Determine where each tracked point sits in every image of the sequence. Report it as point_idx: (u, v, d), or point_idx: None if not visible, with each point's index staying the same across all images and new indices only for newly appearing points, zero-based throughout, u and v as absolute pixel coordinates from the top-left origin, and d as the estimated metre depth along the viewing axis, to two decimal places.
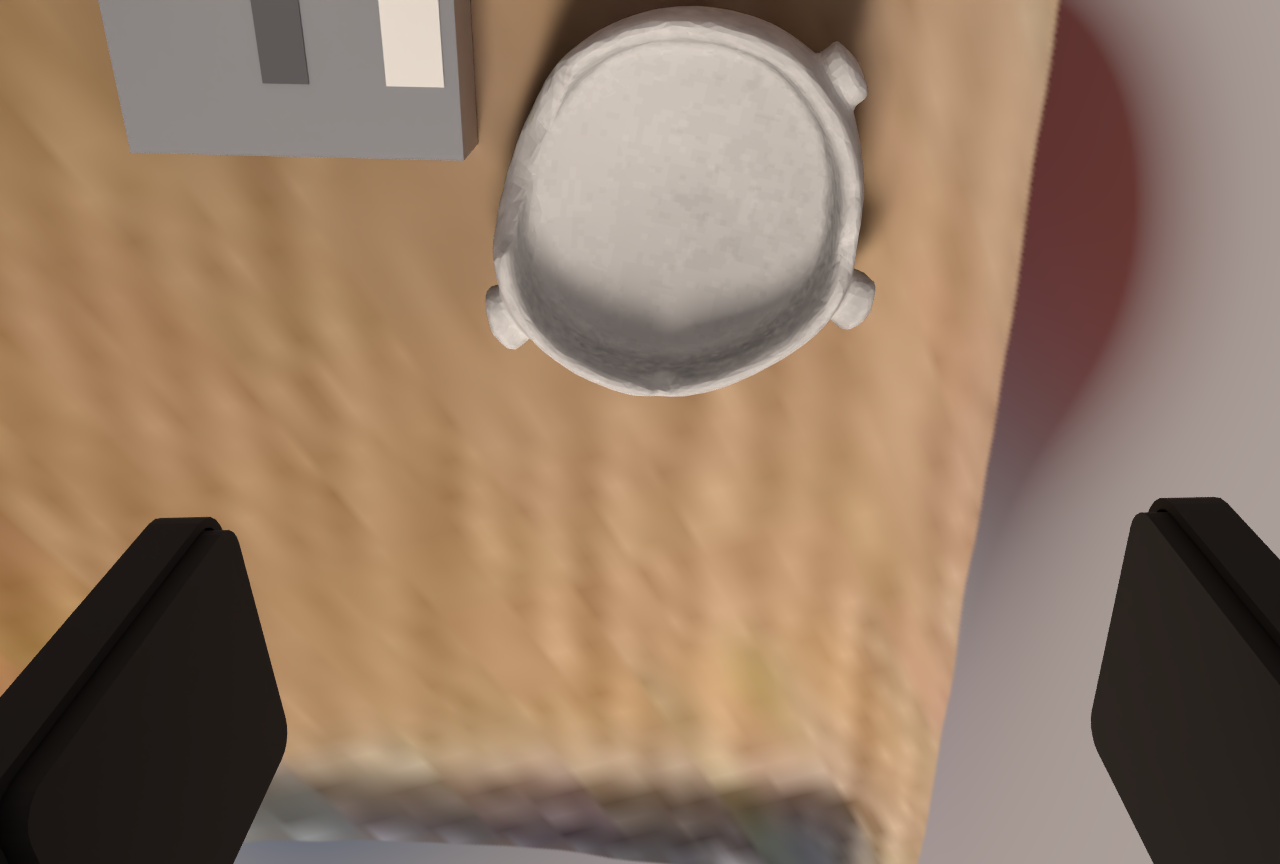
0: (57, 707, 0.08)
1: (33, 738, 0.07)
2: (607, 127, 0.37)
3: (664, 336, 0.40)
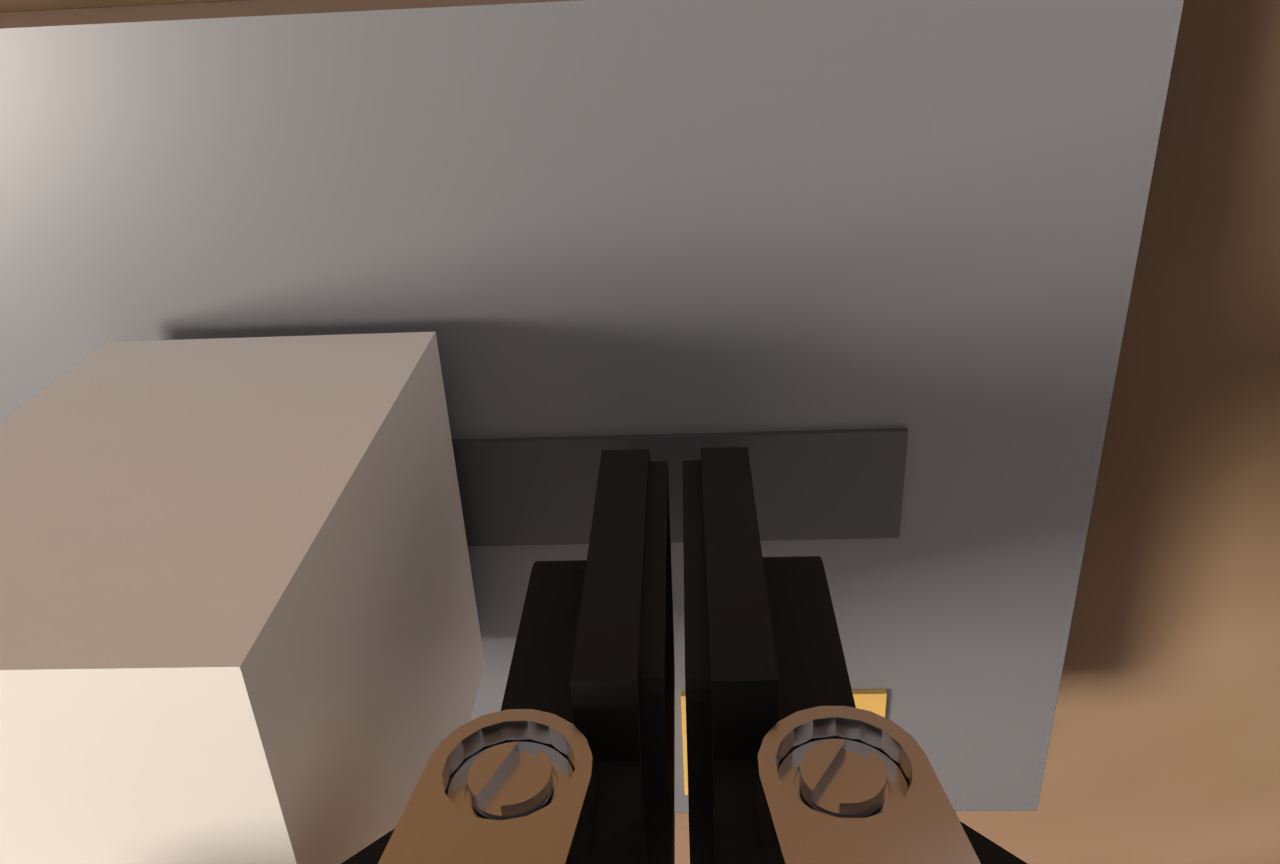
0: (638, 599, 0.09)
1: (638, 622, 0.08)
2: None
3: None
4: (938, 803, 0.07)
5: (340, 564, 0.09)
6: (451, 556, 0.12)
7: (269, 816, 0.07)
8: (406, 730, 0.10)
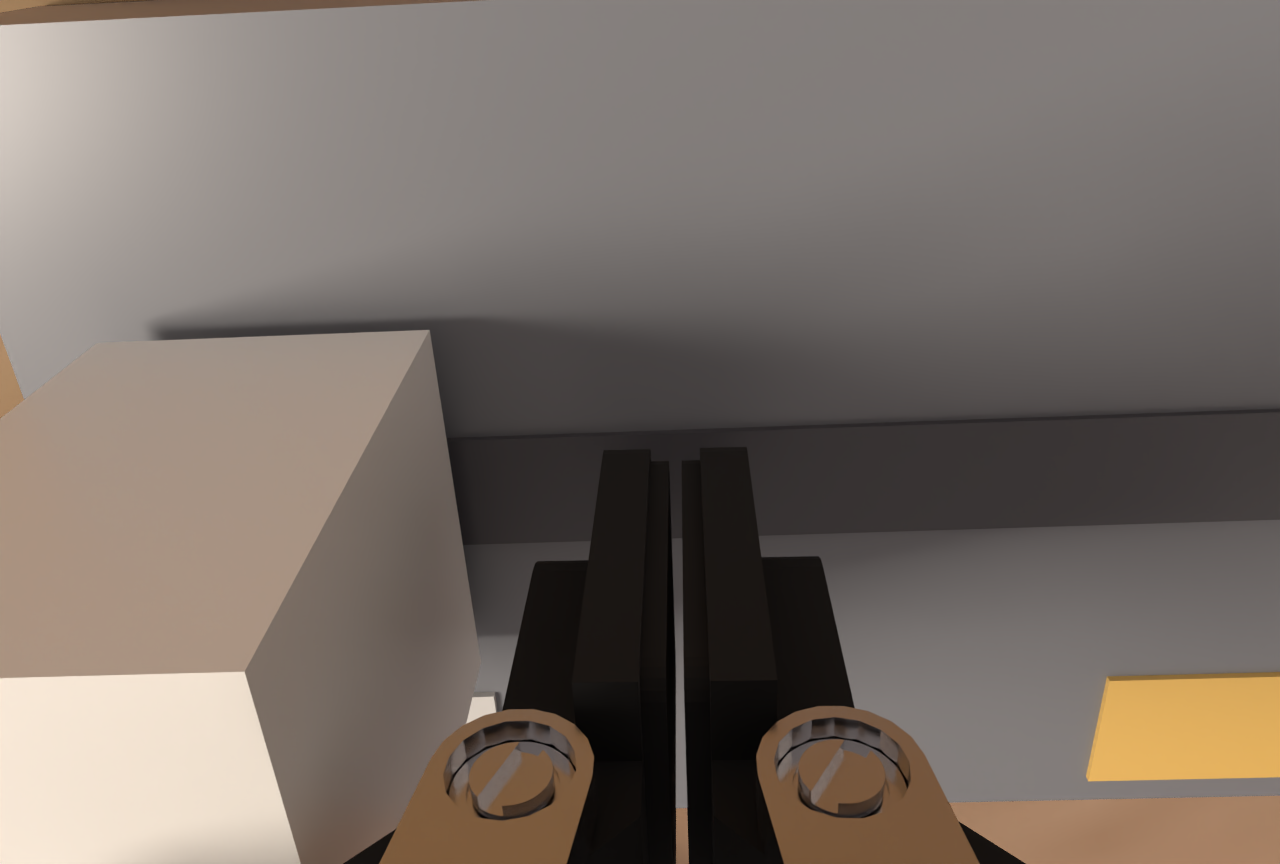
0: (640, 600, 0.09)
1: (641, 622, 0.08)
2: None
3: None
4: (936, 803, 0.07)
5: (340, 566, 0.09)
6: (447, 555, 0.12)
7: (272, 821, 0.07)
8: (405, 731, 0.10)
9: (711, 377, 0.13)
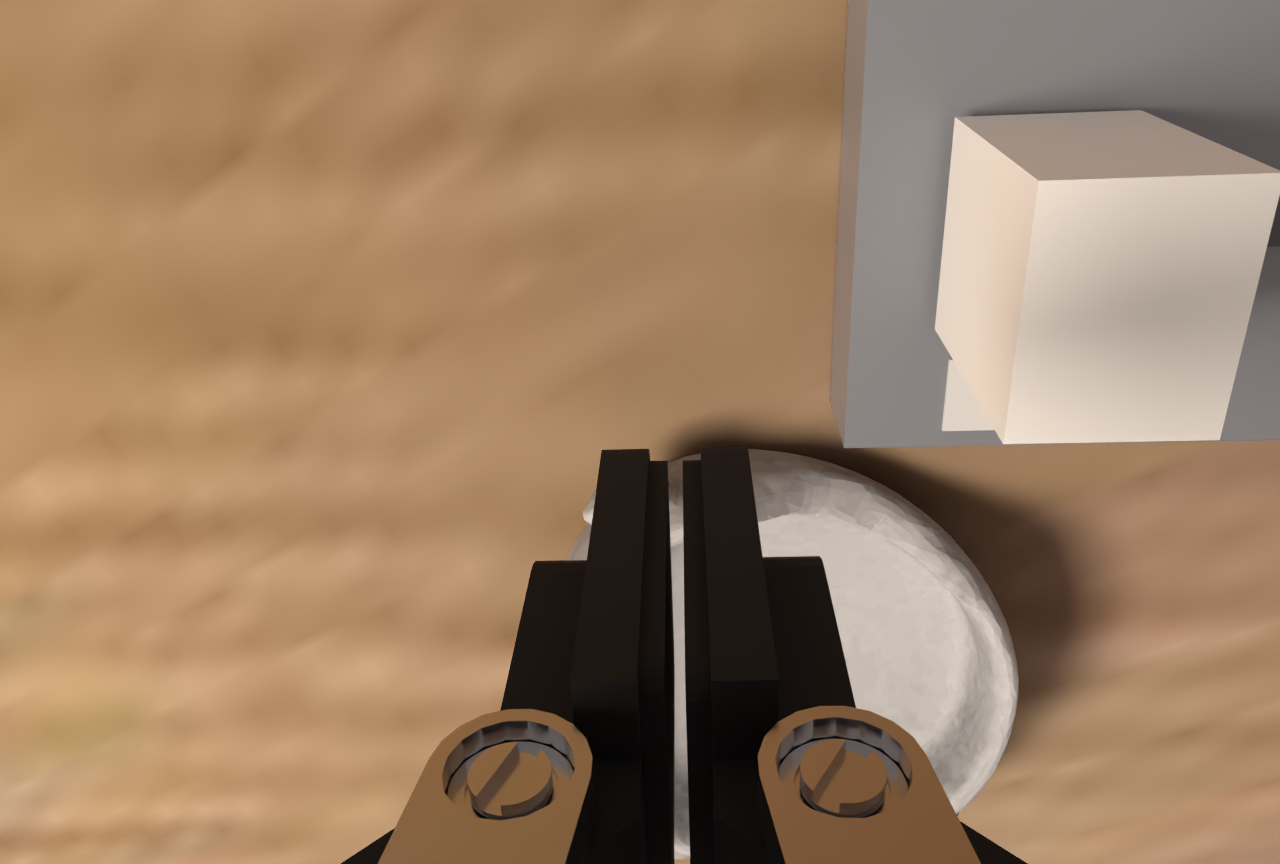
0: (638, 599, 0.09)
1: (640, 622, 0.08)
2: (865, 579, 0.30)
3: None
4: (937, 803, 0.07)
5: None
6: None
7: (1258, 253, 0.17)
8: None
9: (1254, 146, 0.23)
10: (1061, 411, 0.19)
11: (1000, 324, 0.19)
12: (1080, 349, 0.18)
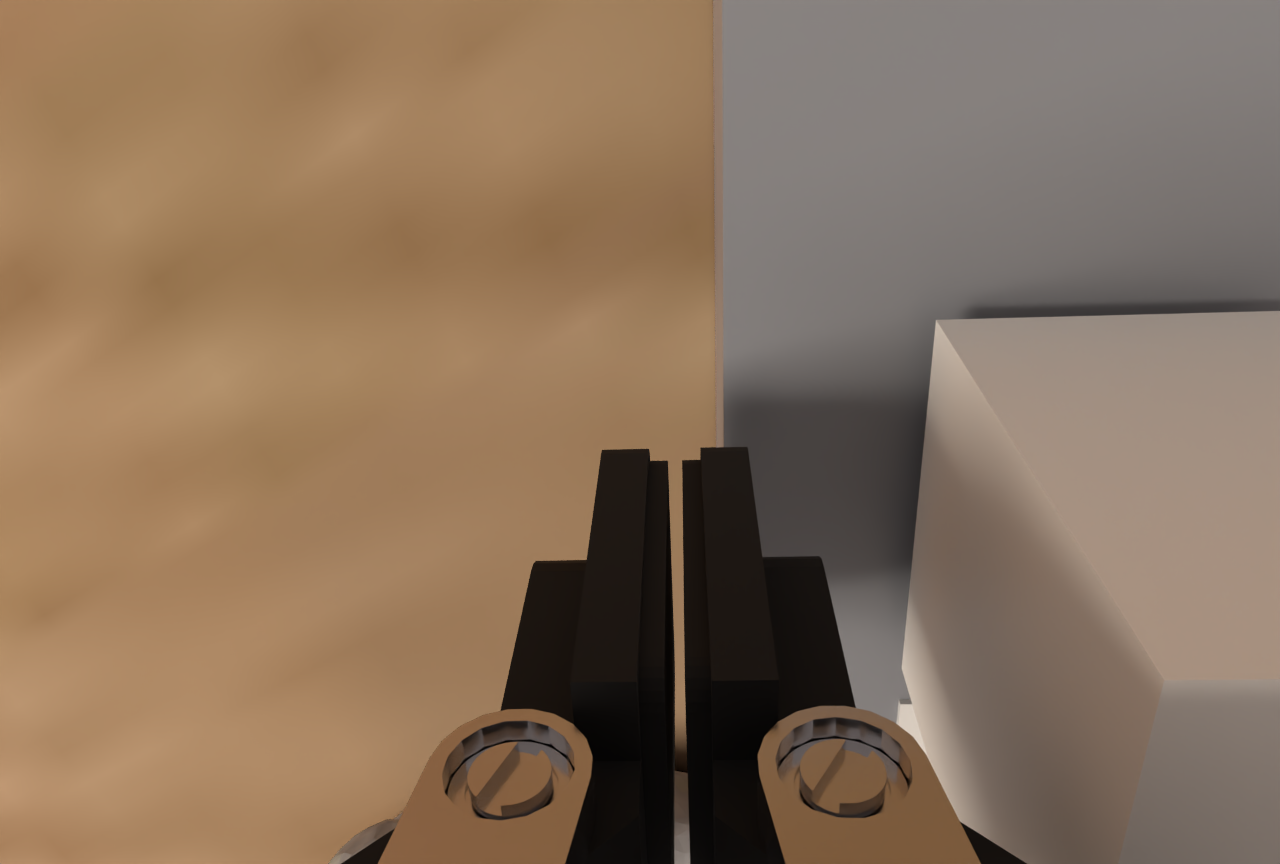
0: (638, 599, 0.09)
1: (640, 622, 0.08)
2: None
3: None
4: (938, 803, 0.07)
5: None
6: None
7: None
8: None
9: None
10: None
11: None
12: None
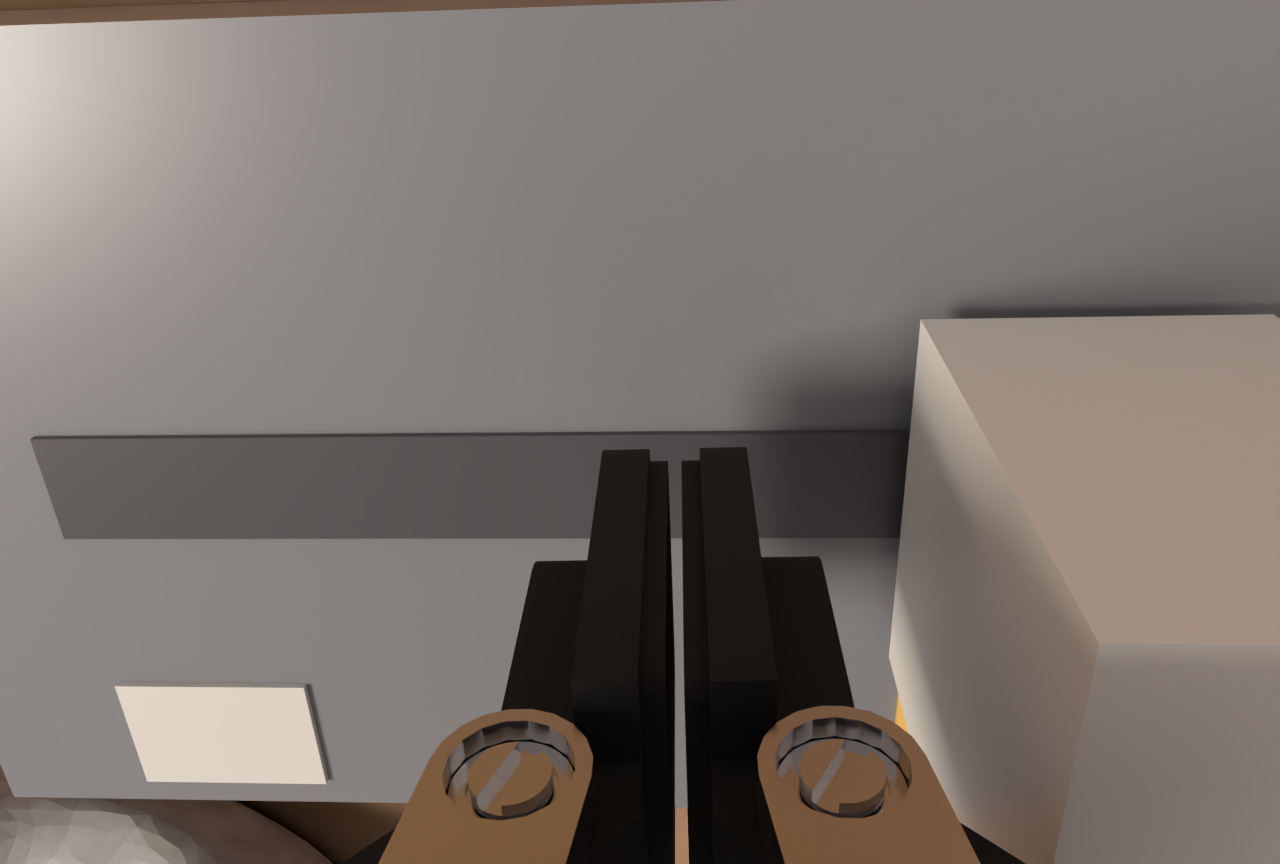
0: (639, 600, 0.09)
1: (640, 622, 0.08)
2: None
3: None
4: (937, 803, 0.07)
5: None
6: None
7: None
8: None
9: (485, 383, 0.13)
10: None
11: (999, 839, 0.09)
12: None
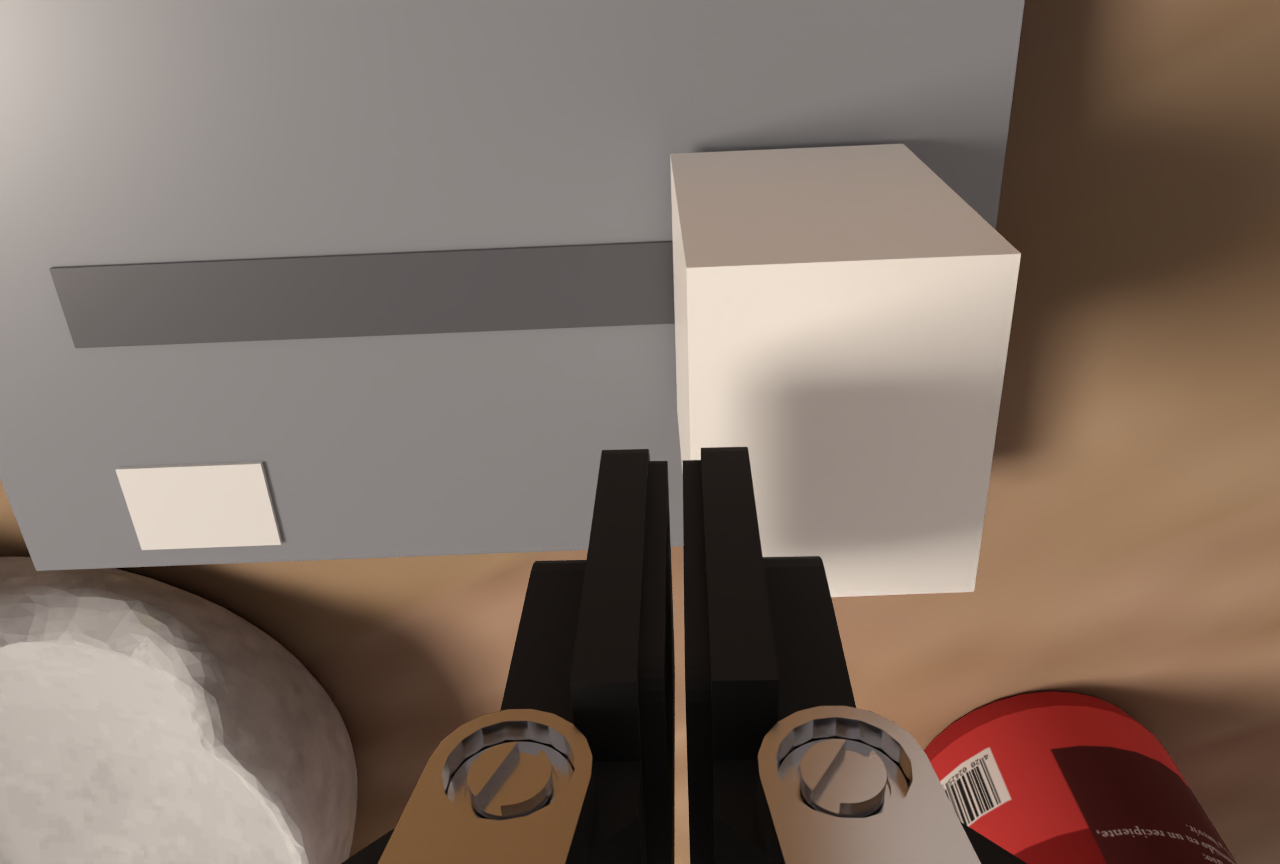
0: (638, 599, 0.09)
1: (640, 622, 0.08)
2: (165, 705, 0.25)
3: None
4: (938, 802, 0.07)
5: None
6: None
7: (998, 359, 0.13)
8: None
9: (383, 214, 0.18)
10: None
11: (687, 442, 0.15)
12: (777, 484, 0.14)
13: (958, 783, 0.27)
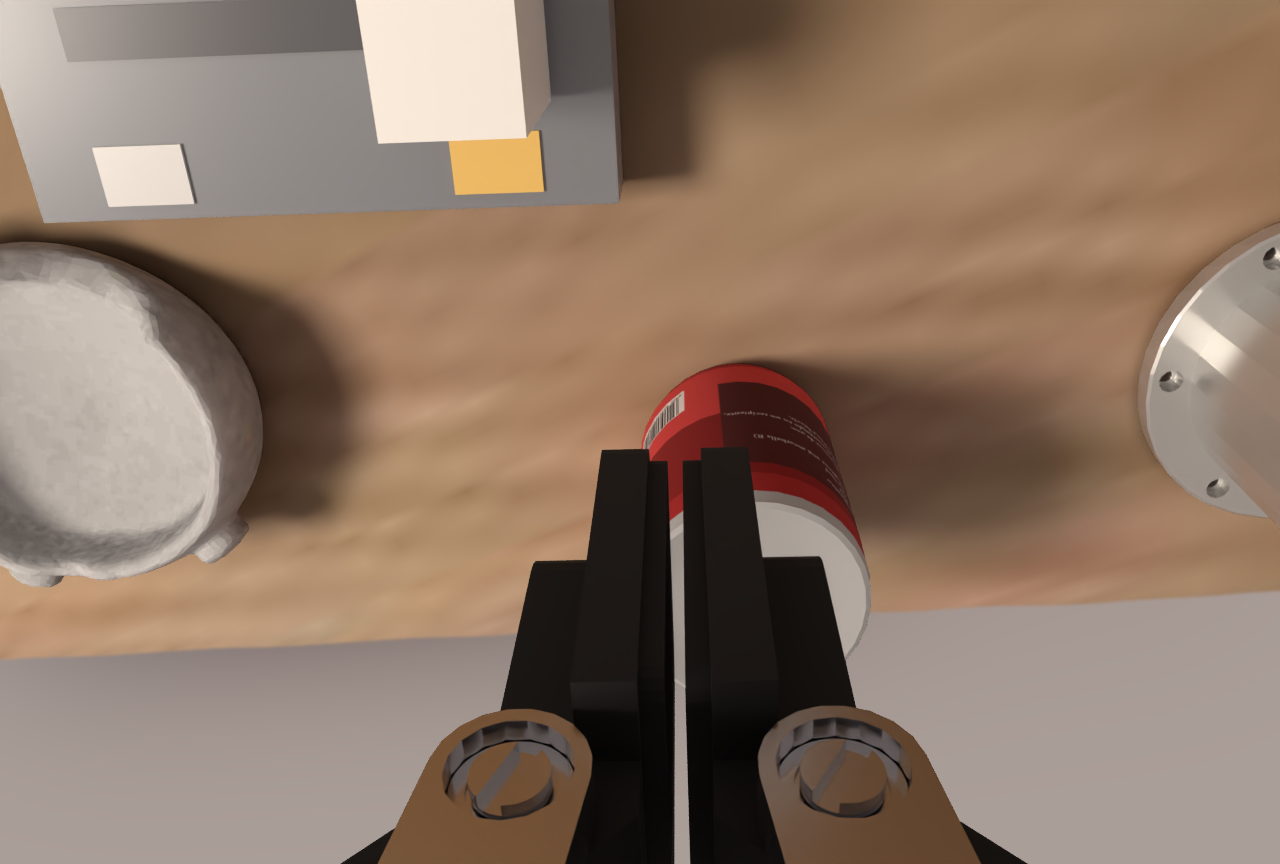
0: (638, 599, 0.09)
1: (638, 622, 0.08)
2: (128, 344, 0.38)
3: None
4: (938, 802, 0.07)
5: None
6: (541, 23, 0.31)
7: None
8: (532, 47, 0.28)
9: None
10: (411, 116, 0.27)
11: None
12: (411, 66, 0.26)
13: (661, 414, 0.39)
